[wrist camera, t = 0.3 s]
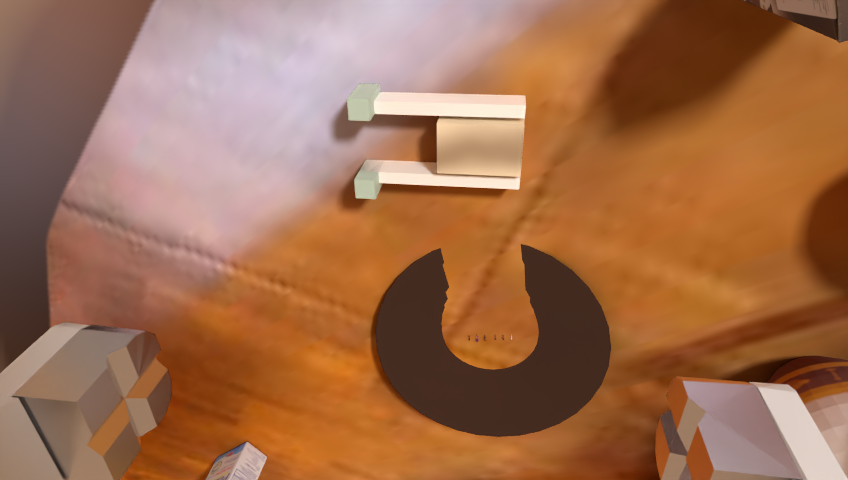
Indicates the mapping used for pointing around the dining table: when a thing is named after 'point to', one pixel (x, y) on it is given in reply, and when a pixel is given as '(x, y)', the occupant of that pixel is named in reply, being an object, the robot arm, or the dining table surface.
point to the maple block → (480, 145)
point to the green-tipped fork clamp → (373, 101)
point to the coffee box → (812, 14)
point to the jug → (822, 397)
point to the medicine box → (238, 464)
